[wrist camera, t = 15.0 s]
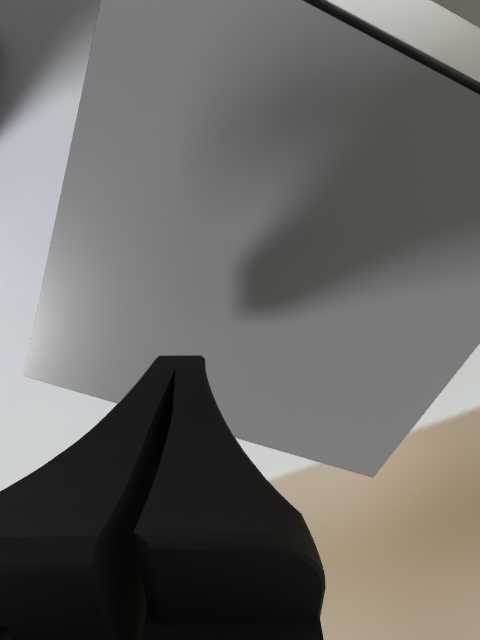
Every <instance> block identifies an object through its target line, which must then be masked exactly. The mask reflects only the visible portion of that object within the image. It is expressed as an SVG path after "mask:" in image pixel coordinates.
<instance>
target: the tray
mask: <svg viewBox="0 0 480 640" xmlns="http://www.w3.org/2000/svg"><path fill="white" fill-rule="evenodd" d="M303 1H305V2H307V3H309V4H310V5H312V6H314V7H316V8H318V9H320V10H322V11H324V12H325V13H327V14H329V15H331V16H333V17H335V18H337V19H339V20H340V21H342V22H344V23H346V24H348V25H350V26H352V27H354V28H355V29H357V30H359V31H361V32H363V33H365V34H367V35H369V36H370V37H372V38H374V39H376V40H378V41H380V42H382V43H384V44H385V45H387V46H389V47H391V48H393V49H395V50H397V51H399V52H400V53H402V54H404V55H406V56H408V57H410V58H412V59H414V60H416V61H417V62H419V63H421V64H423V65H425V66H427V67H429V68H431V69H432V70H434V71H436V72H438V73H440V74H442V75H444V76H446V77H447V78H449V79H451V80H453V81H455V82H457V83H459V84H461V85H462V86H464V87H466V88H468V89H470V90H472V91H474V92H476V93H477V94H479V95H480V28H478V27H477V26H475V25H473V24H471V23H470V22H468V21H466V20H464V19H463V18H461V17H459V16H457V15H456V14H454V13H452V12H450V11H449V10H447V9H445V8H443V7H442V6H440V5H438V4H436V3H435V2H433V1H431V0H303Z"/></svg>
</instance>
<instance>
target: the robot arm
mask: <svg viewBox="0 0 480 640" xmlns="http://www.w3.org/2000/svg"><path fill="white" fill-rule="evenodd" d="M324 593H325V574H324V570H323V566H322V563H321V560H320V557H319V553H318V551H317V548H316V545H315V543H314V540H313V538H312V536H311V534H310V531H309V529H308V527H307V525H306V523H305V521H304V519H303V516H302V514H301V513H300V512H299V511H298V510H296V509H295V508H294V507H293V506H292V505H291V504H290V503H289V502H288V501H287V500H286V499H285V498H284V497H283V496H282V495H281V494H280V493H279V492H277V490H276V489H275V488H274V487H273V486H272V485H271V484H270V483H269V482H268V481H267V480H266V478H265V477H264V476H263V475H262V474H261V472H260V471H259V470H258V469H257V467H256V466H255V465H254V464H253V462H252V461H251V460H250V459H249V458H248V456H247V455H246V454H245V452H244V451H243V449H242V448H241V446H240V445H239V443H238V442H237V440H236V439H235V437H234V436H233V434H232V432H231V431H230V429H229V427H228V425H227V424H226V422H225V420H224V418H223V416H222V414H221V412H220V410H219V408H218V405H217V403H216V401H215V398H214V396H213V393H212V391H211V388H210V385H209V382H208V378H207V374H206V365H205V358H204V357H203V356H201V355H179V356H158V357H157V358H156V359H155V360H154V362H153V363H152V364H151V366H150V367H149V368H148V369H147V371H146V372H145V373H144V375H143V376H142V377H141V378H140V379H139V381H138V382H137V383H136V384H135V385H134V386H133V388H132V389H131V390H130V391H129V392H128V393H127V394H126V396H125V397H124V398H123V399H122V400H121V401H120V402H119V403H118V404H117V405H116V406H115V407H114V408H113V409H112V410H111V411H110V412H109V413H108V414H107V415H106V416H105V417H104V418H103V419H102V420H101V421H100V422H99V423H98V424H97V425H96V426H95V427H94V428H92V429H91V430H90V431H89V432H88V433H87V434H85V435H84V436H83V437H82V438H81V439H79V440H78V441H77V442H76V443H74V444H73V445H72V446H70V447H69V448H67V449H66V450H65V451H63V452H62V453H60V454H59V455H58V456H56V457H55V458H53V459H52V460H51V461H49V462H48V463H46V464H45V465H43V466H42V467H40V468H39V469H37V470H36V471H34V472H32V473H31V474H29V475H28V476H26V477H24V478H23V479H21V480H19V481H18V482H16V483H14V484H13V485H11V486H9V487H7V488H6V489H4V490H2V491H0V640H323V634H322V628H321V622H320V614H321V609H322V603H323V598H324Z"/></svg>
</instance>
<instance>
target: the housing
mask: <svg viewBox="0 0 480 640" xmlns="http://www.w3.org/2000/svg"><path fill="white" fill-rule="evenodd" d="M479 343H480V95H479V94H477V93H476V92H474V91H472V90H470V89H468V88H466V87H464V86H462V85H461V84H459V83H457V82H455V81H453V80H451V79H449V78H447V77H446V76H444V75H442V74H440V73H438V72H436V71H434V70H432V69H431V68H429V67H427V66H425V65H423V64H421V63H419V62H417V61H416V60H414V59H412V58H410V57H408V56H406V55H404V54H402V53H400V52H399V51H397V50H395V49H393V48H391V47H389V46H387V45H385V44H384V43H382V42H380V41H378V40H376V39H374V38H372V37H370V36H369V35H367V34H365V33H363V32H361V31H359V30H357V29H355V28H354V27H352V26H350V25H348V24H346V23H344V22H342V21H340V20H339V19H337V18H335V17H333V16H331V15H329V14H327V13H325V12H324V11H322V10H320V9H318V8H316V7H314V6H312V5H310V4H309V3H307V2H305V1H303V0H101V3H100V8H99V12H98V17H97V22H96V27H95V32H94V36H93V41H92V46H91V51H90V56H89V61H88V65H87V70H86V75H85V80H84V85H83V90H82V94H81V99H80V104H79V109H78V114H77V118H76V123H75V128H74V133H73V138H72V143H71V147H70V152H69V157H68V162H67V167H66V172H65V176H64V181H63V186H62V191H61V196H60V200H59V205H58V210H57V215H56V220H55V225H54V229H53V234H52V239H51V244H50V249H49V254H48V258H47V263H46V268H45V273H44V278H43V282H42V287H41V292H40V297H39V302H38V307H37V311H36V316H35V321H34V326H33V331H32V336H31V340H30V345H29V350H28V355H27V360H26V364H25V369H24V374H23V376H25V377H28V378H31V379H35V380H38V381H42V382H45V383H49V384H52V385H56V386H59V387H62V388H66V389H69V390H73V391H76V392H80V393H83V394H87V395H90V396H93V397H97V398H100V399H104V400H107V401H111V402H114V403H117V404H118V403H119V402H120V401H121V400H122V399H123V398H124V397H125V396H126V394H127V393H128V392H129V391H130V390H131V389H132V388H133V386H134V385H135V384H136V383H137V382H138V381H139V379H140V378H141V377H142V376H143V375H144V373H145V372H146V371H147V369H148V368H149V367H150V366H151V364H152V363H153V362H154V360H155V359H156V358H157V357H158V356H179V355H201V356H203V357H204V358H205V365H206V374H207V378H208V382H209V385H210V388H211V391H212V393H213V396H214V398H215V401H216V403H217V405H218V408H219V410H220V412H221V414H222V416H223V418H224V420H225V422H226V424H227V425H228V427H229V429H230V431H231V432H232V434H233V436H234V437H235V438H238V439H241V440H245V441H248V442H252V443H255V444H259V445H262V446H265V447H269V448H272V449H276V450H279V451H283V452H286V453H290V454H293V455H296V456H300V457H303V458H307V459H310V460H314V461H317V462H321V463H324V464H327V465H331V466H335V467H338V468H341V469H345V470H348V471H352V472H355V473H358V474H362V475H365V476H369V477H372V478H373V477H374V476H375V475H376V473H377V472H378V471H379V470H380V468H381V467H382V466H383V465H384V463H385V462H386V461H387V460H388V458H389V457H390V456H391V454H392V453H393V452H394V451H395V449H396V448H397V447H398V446H399V444H400V443H401V442H402V440H403V439H404V438H405V437H406V436H407V434H408V433H409V432H410V431H411V429H412V428H413V427H414V426H415V424H416V423H417V422H418V420H419V419H420V418H421V417H422V415H423V414H424V413H425V412H426V410H427V409H428V408H429V407H430V405H431V404H432V403H433V402H434V400H435V399H436V398H437V396H438V395H439V394H440V393H441V391H442V390H443V389H444V388H445V386H446V385H447V384H448V383H449V381H450V380H451V379H452V378H453V376H454V375H455V374H456V372H457V371H458V370H459V369H460V367H461V366H462V365H463V364H464V362H465V361H466V360H467V359H468V357H469V356H470V355H471V354H472V352H473V351H474V350H475V349H476V347H477V346H478V345H479Z"/></svg>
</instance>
